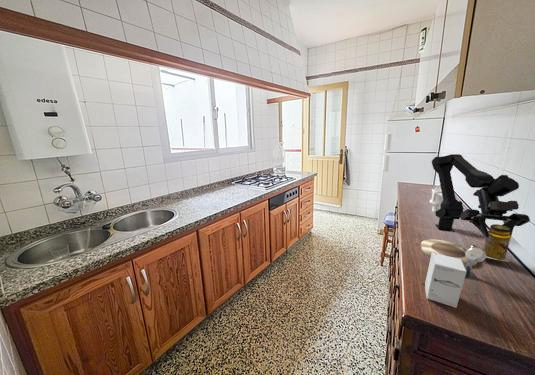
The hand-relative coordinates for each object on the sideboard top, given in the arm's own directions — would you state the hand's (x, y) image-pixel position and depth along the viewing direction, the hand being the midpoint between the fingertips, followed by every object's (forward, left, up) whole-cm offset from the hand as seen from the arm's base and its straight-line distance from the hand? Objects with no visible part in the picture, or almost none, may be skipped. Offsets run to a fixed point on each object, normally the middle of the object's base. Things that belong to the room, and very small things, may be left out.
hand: (497, 238), depth 81 cm
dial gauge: (+12, -13, -11) cm, 21 cm away
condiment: (0, 0, -8) cm, 8 cm away
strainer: (-58, -1, -11) cm, 59 cm away
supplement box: (+28, -25, -11) cm, 39 cm away
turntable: (0, -14, -9) cm, 17 cm away
